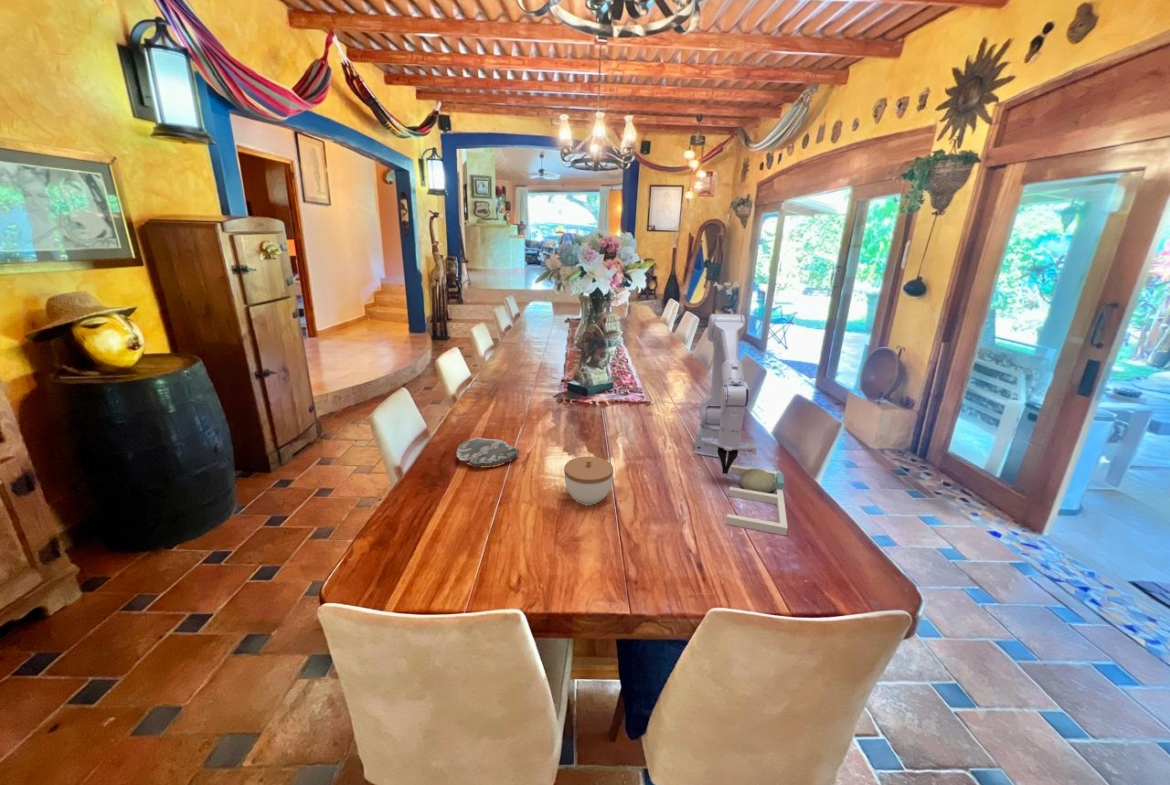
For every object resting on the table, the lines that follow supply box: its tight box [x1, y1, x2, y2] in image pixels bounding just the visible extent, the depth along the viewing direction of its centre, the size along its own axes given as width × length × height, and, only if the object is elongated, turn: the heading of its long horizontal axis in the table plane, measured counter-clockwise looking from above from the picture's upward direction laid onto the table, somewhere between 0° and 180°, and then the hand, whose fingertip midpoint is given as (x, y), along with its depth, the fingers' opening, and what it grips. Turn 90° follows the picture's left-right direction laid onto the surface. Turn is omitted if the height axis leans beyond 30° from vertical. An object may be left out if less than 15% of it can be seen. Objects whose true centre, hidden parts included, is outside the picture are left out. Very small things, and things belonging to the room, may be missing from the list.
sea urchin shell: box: [739, 467, 775, 493], centre depth 129 cm, size 9×8×8 cm
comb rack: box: [725, 464, 789, 536], centre depth 123 cm, size 14×28×4 cm, turn 161°
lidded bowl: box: [563, 456, 614, 506], centre depth 121 cm, size 13×13×11 cm
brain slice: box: [456, 437, 520, 468], centre depth 144 cm, size 20×17×3 cm
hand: (725, 472), depth 131 cm, fingers closed
